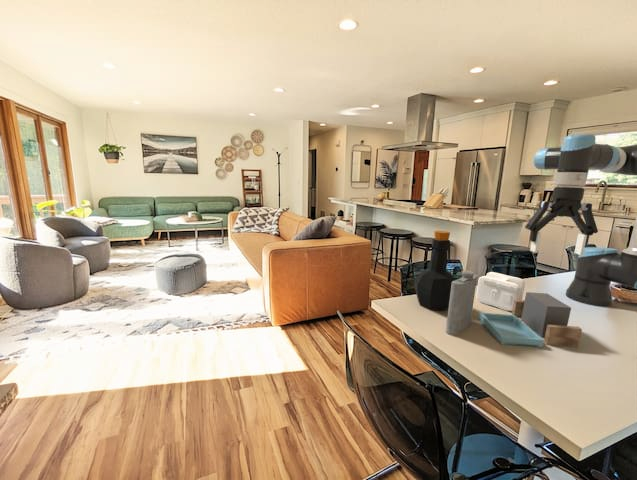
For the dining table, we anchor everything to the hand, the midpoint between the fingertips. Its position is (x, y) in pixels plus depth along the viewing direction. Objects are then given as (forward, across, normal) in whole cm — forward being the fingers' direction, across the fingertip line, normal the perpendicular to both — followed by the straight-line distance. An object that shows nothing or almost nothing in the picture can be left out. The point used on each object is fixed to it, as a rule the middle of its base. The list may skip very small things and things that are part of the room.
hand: (555, 252), depth 98 cm
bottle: (+27, -32, +15) cm, 44 cm away
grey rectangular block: (+27, 0, 0) cm, 27 cm away
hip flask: (+28, -28, -3) cm, 39 cm away
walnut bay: (+27, 0, 0) cm, 27 cm away
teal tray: (+27, -13, -4) cm, 30 cm away
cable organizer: (+27, -5, +20) cm, 34 cm away
